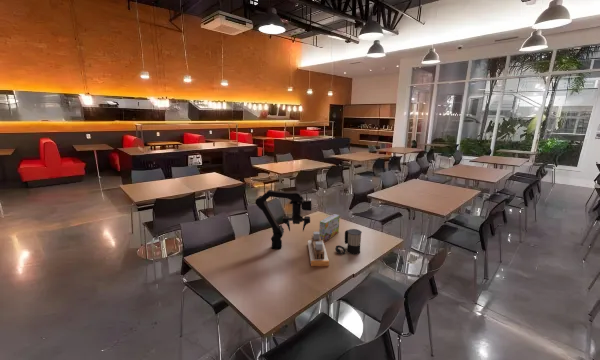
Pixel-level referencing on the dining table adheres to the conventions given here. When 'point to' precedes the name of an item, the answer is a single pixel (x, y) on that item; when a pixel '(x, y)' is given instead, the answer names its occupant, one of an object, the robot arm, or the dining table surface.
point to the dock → (317, 261)
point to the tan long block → (317, 252)
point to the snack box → (329, 227)
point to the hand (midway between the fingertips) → (296, 231)
